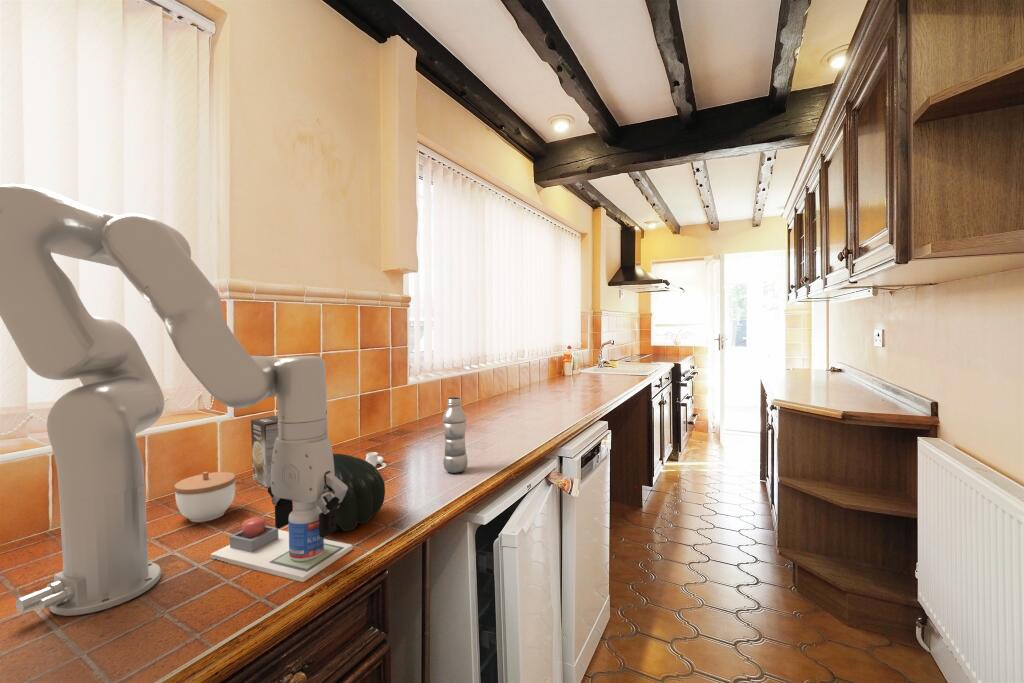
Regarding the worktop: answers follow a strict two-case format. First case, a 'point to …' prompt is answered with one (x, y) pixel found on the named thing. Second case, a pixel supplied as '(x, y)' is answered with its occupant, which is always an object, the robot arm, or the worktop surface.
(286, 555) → the white flat board
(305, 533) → the pill bottle
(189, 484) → the lidded jar
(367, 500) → the squash
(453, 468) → the plastic bottle
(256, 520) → the button
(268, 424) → the coffee box
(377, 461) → the teacup and saucer
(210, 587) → the worktop surface
